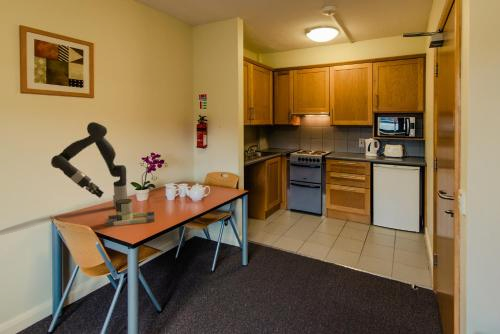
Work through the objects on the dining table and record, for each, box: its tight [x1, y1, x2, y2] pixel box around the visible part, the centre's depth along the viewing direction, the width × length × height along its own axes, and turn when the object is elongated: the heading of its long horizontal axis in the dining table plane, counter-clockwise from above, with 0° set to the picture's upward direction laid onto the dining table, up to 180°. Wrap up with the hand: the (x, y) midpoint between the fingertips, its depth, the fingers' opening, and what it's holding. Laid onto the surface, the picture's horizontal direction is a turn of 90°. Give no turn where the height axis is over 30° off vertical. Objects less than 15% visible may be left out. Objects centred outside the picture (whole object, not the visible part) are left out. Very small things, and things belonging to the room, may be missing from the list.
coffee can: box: [115, 198, 134, 221], centre depth 200 cm, size 10×10×14 cm
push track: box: [104, 211, 155, 227], centre depth 202 cm, size 30×16×2 cm, turn 108°
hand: (101, 195), depth 195 cm, fingers open, 8 cm apart
